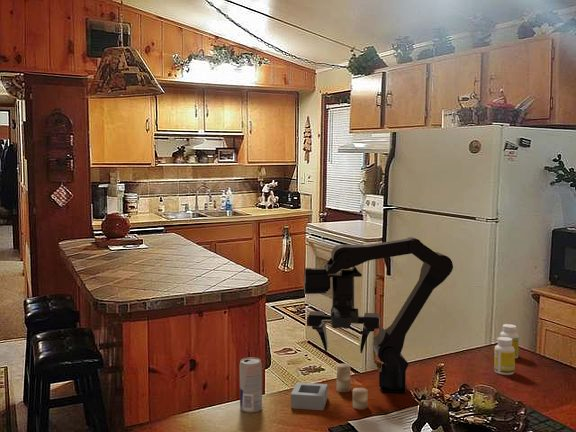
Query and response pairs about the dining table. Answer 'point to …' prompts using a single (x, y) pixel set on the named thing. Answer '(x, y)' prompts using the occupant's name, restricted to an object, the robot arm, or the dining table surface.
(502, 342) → the supplement bottle
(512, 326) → the supplement bottle
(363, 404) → the short pin
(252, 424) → the dining table surface
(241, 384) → the energy drink
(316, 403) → the hole block
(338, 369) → the beige peg
